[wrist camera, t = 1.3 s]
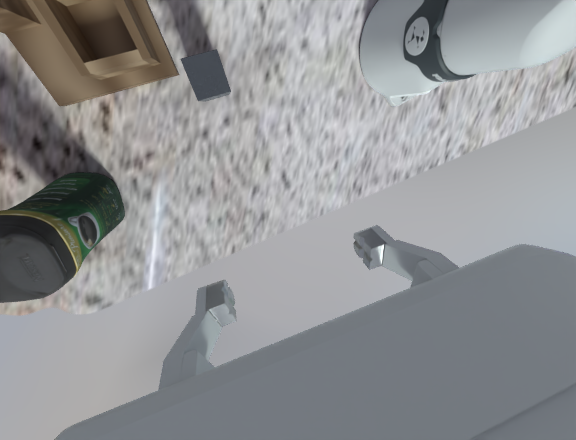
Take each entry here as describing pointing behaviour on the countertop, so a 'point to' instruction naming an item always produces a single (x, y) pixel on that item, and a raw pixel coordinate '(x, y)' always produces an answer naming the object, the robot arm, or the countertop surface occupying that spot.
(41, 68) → the wooden peg slot stand
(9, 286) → the coffee jar
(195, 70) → the dark grey square peg
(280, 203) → the countertop surface
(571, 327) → the robot arm
